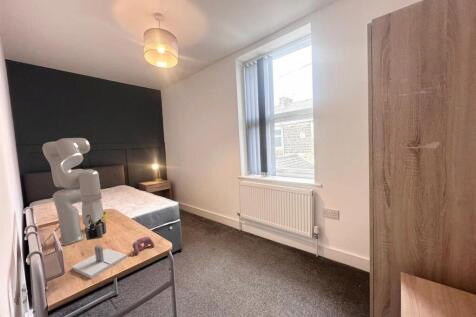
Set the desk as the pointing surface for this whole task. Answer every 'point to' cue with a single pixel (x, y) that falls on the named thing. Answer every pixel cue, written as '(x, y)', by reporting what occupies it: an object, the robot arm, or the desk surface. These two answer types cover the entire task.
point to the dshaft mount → (98, 262)
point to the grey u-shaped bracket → (98, 230)
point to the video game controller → (140, 241)
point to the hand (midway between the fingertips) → (96, 234)
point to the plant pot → (104, 216)
